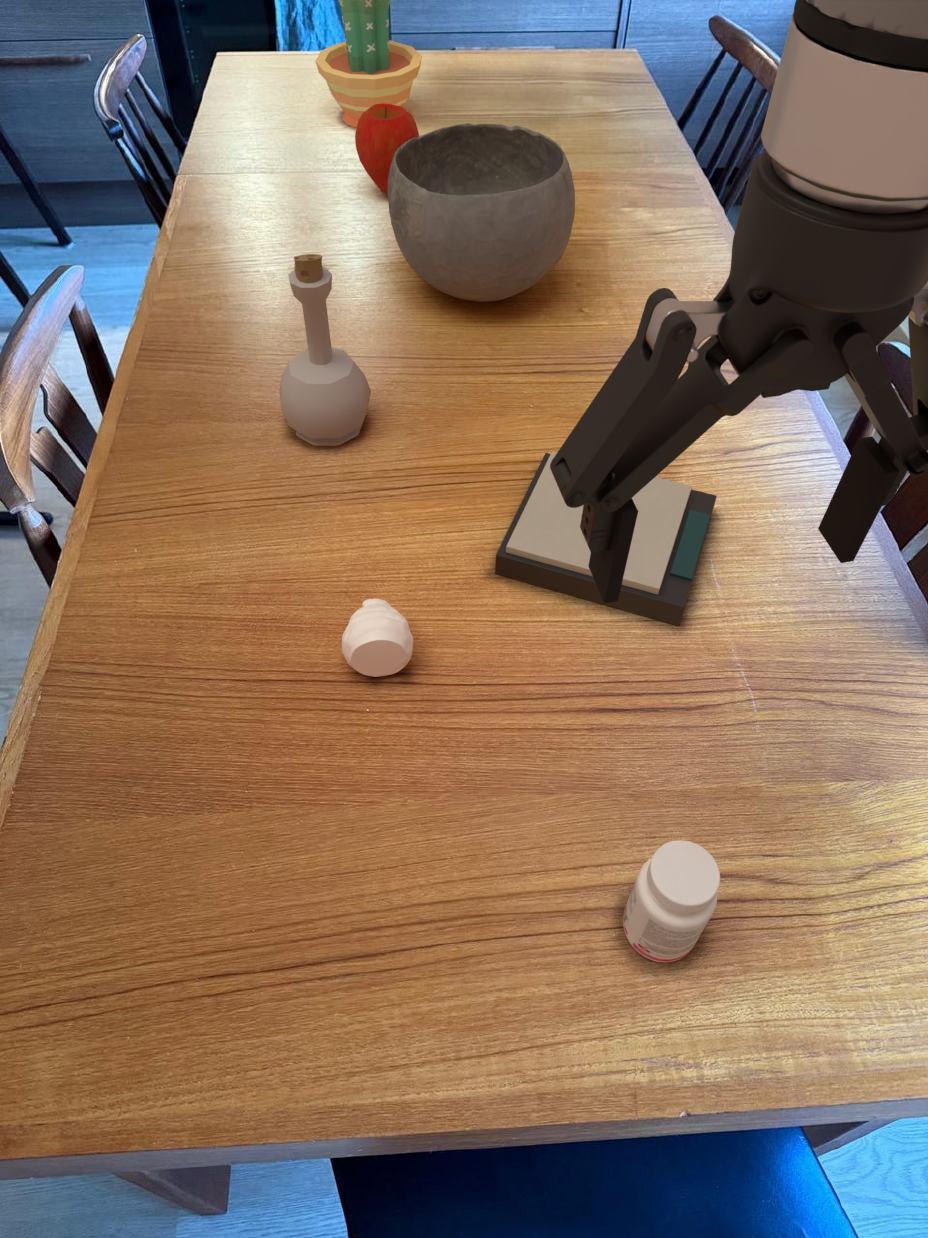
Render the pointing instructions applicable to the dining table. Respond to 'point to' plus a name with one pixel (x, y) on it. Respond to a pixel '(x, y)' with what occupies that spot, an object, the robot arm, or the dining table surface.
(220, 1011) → the dining table surface
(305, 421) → the potion bottle
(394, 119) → the apple
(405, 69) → the potted cactus
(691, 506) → the scale
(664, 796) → the dining table surface
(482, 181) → the bowl
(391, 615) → the garlic bulb
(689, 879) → the pill bottle
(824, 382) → the robot arm
